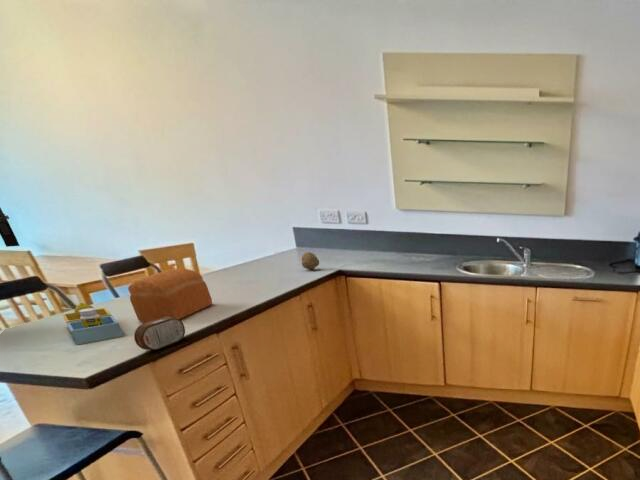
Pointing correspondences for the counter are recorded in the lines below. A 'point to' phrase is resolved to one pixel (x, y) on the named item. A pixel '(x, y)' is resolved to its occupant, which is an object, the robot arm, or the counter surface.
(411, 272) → the counter surface
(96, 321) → the supplement bottle
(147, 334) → the tin
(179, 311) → the bread
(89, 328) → the blue bin
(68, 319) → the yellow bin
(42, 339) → the counter surface
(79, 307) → the lemon
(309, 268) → the natural sponge
